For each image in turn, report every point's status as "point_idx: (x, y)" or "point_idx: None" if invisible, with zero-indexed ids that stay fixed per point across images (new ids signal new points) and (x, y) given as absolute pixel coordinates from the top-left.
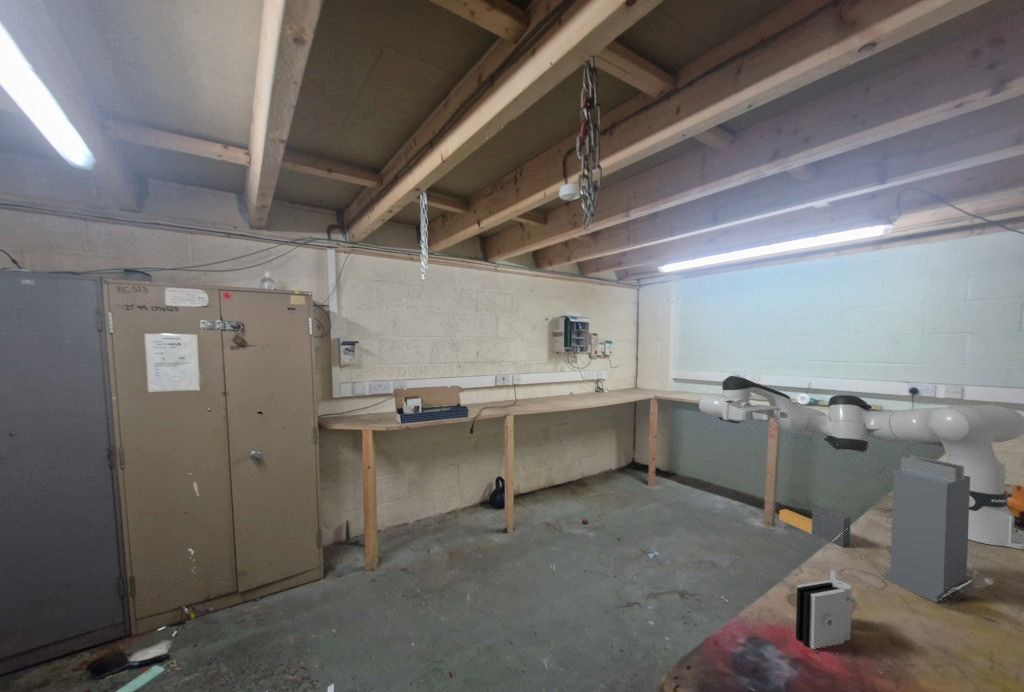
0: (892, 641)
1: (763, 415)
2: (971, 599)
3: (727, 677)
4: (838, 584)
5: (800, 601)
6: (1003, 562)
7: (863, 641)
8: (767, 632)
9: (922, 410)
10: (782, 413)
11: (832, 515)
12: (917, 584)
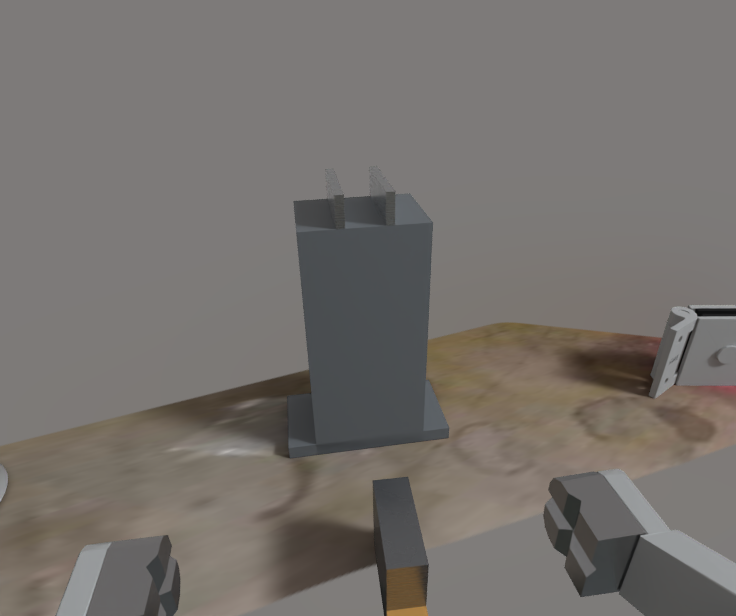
0: (590, 362)
1: (649, 518)
2: None
3: None
4: (690, 312)
5: None
6: (112, 428)
7: (634, 367)
8: None
9: None
10: (147, 579)
11: (414, 505)
12: (425, 398)
